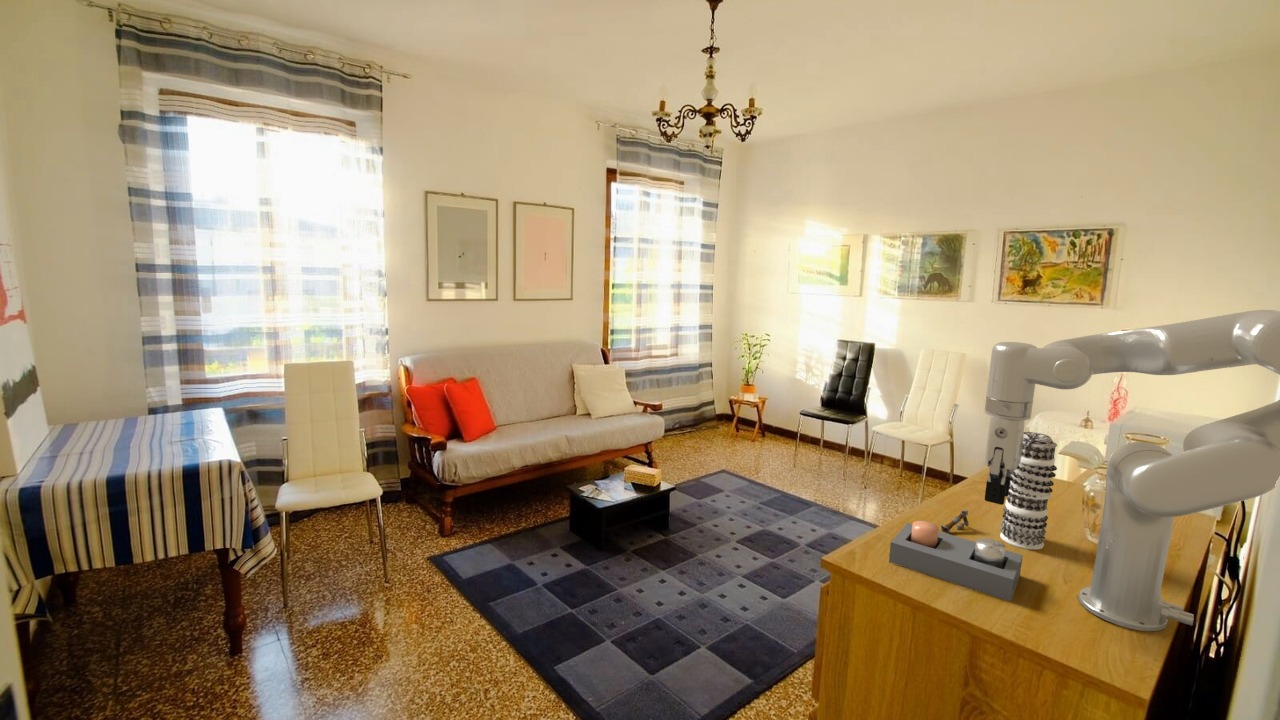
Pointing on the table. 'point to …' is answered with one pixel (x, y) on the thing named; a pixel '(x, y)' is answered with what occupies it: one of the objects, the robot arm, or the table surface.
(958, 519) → the wooden post with brackets
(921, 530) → the terracotta plunger
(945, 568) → the button housing
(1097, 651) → the table surface
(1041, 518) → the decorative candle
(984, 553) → the cream short cylinder
